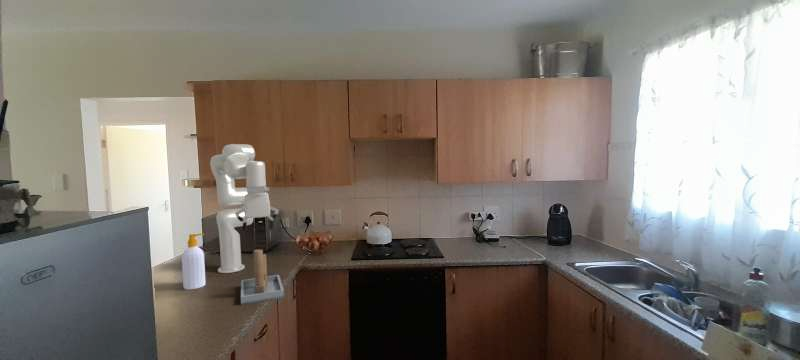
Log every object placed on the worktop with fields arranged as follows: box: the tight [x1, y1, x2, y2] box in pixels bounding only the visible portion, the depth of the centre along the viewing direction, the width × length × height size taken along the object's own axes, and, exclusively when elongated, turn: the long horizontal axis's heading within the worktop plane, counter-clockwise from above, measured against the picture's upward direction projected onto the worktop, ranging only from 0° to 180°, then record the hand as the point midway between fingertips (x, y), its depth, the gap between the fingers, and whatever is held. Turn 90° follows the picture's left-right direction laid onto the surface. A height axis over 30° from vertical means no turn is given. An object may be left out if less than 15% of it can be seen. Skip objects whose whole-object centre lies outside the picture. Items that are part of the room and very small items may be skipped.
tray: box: [240, 274, 285, 306], centre depth 148 cm, size 22×16×3 cm
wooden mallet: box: [253, 249, 268, 294], centre depth 147 cm, size 4×11×18 cm, turn 14°
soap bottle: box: [181, 233, 206, 291], centre depth 156 cm, size 9×9×24 cm
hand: (258, 230), depth 147 cm, fingers open, 9 cm apart
